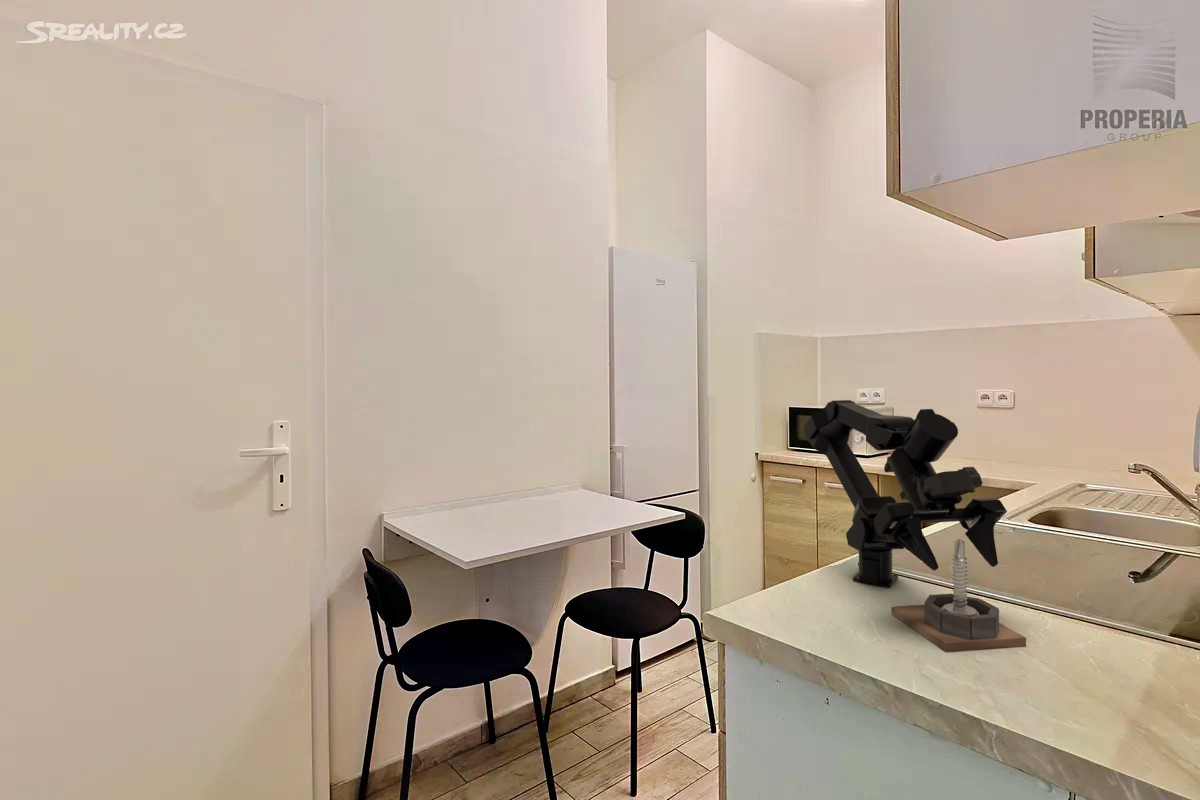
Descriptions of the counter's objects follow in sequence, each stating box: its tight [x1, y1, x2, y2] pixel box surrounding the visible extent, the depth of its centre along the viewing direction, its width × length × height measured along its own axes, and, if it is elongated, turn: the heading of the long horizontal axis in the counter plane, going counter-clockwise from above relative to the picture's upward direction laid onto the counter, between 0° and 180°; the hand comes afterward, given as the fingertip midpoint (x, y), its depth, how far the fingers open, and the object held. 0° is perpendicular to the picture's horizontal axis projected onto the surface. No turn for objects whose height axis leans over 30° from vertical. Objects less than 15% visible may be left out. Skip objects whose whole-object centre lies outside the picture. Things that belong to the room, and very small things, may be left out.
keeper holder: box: [890, 593, 1027, 653], centre depth 88 cm, size 13×12×4 cm
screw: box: [941, 538, 979, 616], centre depth 86 cm, size 13×5×5 cm
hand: (965, 567), depth 85 cm, fingers open, 9 cm apart
